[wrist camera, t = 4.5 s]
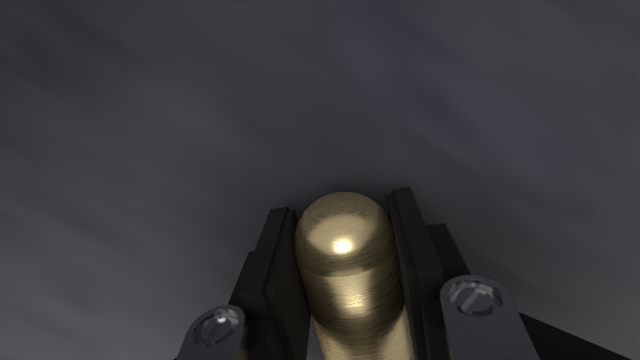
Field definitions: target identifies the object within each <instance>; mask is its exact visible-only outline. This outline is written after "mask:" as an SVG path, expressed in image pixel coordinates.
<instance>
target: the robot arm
mask: <svg viewBox="0 0 640 360" xmlns="http://www.w3.org/2000/svg"><path fill="white" fill-rule="evenodd" d="M392 192H393V194H392V195H386V196H387V203H388V210H389V217H390V219H391V221H392V226H393V230H394V236H395V242H396V248H397V255H398V262H399V269H400V275H401V282H402V289H403V296H404V302H405V306H406V311H407V315H408V320H409V324H410V329H411V333H412V338H413V343H414V347H415V352H416V356H417V360H631V359H629V358H626V357H624V356H622V355H619V354H617V353H614V352H612V351H610V350H607V349H605V348H603V347H600V346H598V345H596V344H593V343H591V342H588V341H586V340H584V339H581V338H579V337H577V336H574V335H572V334H569V333H567V332H565V331H562V330H560V329H558V328H555V327H553V326H550V325H548V324H546V323H543V322H541V321H539V320H536V319H534V318H531V317H529V316H527V315H524V314H522V313H520V312H518V311H517V309H516V307H515V304H514V302H513V300H512V298H511V296H510V294H509V293H508V291H507V290H506V289H505V287H503V286H502V285H501V284H499V283H498V282H496V281H494V280H492V279H490V278H487V277H483V276H478V275H471V274H470V272H469V270H468V268H467V266H466V264H465V262H464V260H463V258H462V256H461V254H460V252H459V250H458V248H457V246H456V244H455V242H454V240H453V238H452V236H451V235H450V233H449V231H448V229H447V227H446V225H445V224H444V223H443V224H436V225H429V226H426V225H425V223H424V220H423V218H422V215H421V213H420V210H419V208H418V206H417V203H416V201H415V198H414V196H413V193H412V191H411V188H410V187H408V188H401V189H395V190H392ZM297 224H298V219H297V215H296V212H295V211H294V210H292V211H290V210H289V208H288V207H283V208H277V209H271V210H270V212H269V215H268V217H267V220H266V223H265V225H264V228H263V231H262V233H261V236H260V239H259V241H258V244H257V247H256V249H255V251H251V252H249V254H248V256H247V258H246V261H245V263H244V266H243V268H242V271H241V273H240V276H239V278H238V281H237V283H236V286H235V288H234V291H233V293H232V296H231V298H230V301H229V303H228V305H223V306H219V307H216V308H213V309H211V310H209V311H207V312H205V313H204V314H202V315H201V316H200V317H198V318H197V319H196V320H195V321H194V323H193V324H192V325H191V326H190V328H189V330H188V332H187V334H186V336H185V339H184V341H183V344H182V346H181V349H180V352H179V354H178V357H177V358H175V359H174V360H306V356H307V346H308V337H309V327H310V318H311V310H310V306H309V303H308V299H307V296H306V292H305V289H304V285H303V282H302V278H301V275H300V271H299V268H298V264H297V261H296V256H295V250H294V234H295V230H296V227H297Z"/></svg>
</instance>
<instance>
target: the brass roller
mask: <svg viewBox="0 0 640 360" xmlns="http://www.w3.org/2000/svg"><path fill="white" fill-rule="evenodd" d="M294 250H295V256H296V261H297V264H298V268H299V271H300V275H301V278H302V282H303V285H304V289H305V292H306V296H307V299H308V303H309V306H310V310H311V314H312V317H313V321H314V324H315V328H316V331H317V335H318V338H319V342H320V345H321V349H322V352H323V356H324V359H325V360H415V359H414V352H413V345H412V338H411V331H410V324H409V320H408V315H407V311H406V306H405V302H404V296H403V289H402V282H401V275H400V269H399V262H398V255H397V248H396V242H395V236H394V230H393V226H392V221H391V219H390V217H389V215H388V214H387V213H386V212H385V210H384V209H383V208H382V207H381V206H380V205H379V204H378V203H376V202H375V201H373V200H372V199H370V198H369V197H367V196H364V195H361V194H358V193H354V192H336V193H331V194H328V195H326V196H324V197H321V198H319V199H318V200H316V201H315V202H313V203H312V204H311V205H310V206H309V207H308V208H307V209H306V210H305V212H304V213H303V214H302V216H301V218H300V219H299V221H298V224H297V227H296V230H295V234H294Z"/></svg>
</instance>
